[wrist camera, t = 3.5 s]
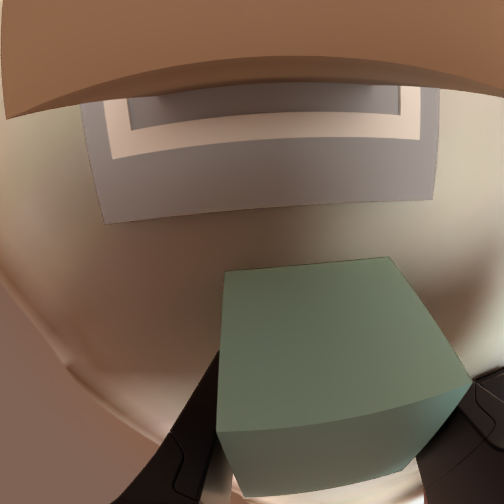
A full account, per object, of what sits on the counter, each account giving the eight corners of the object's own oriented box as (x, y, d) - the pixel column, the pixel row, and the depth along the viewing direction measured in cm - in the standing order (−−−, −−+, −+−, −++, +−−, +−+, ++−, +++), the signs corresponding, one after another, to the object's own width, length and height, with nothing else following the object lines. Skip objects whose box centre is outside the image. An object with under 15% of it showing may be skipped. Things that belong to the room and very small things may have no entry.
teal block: (365, 363, 11) (402, 470, 7) (241, 378, 11) (244, 497, 7) (388, 256, 9) (472, 381, 4) (224, 271, 9) (216, 431, 4)
